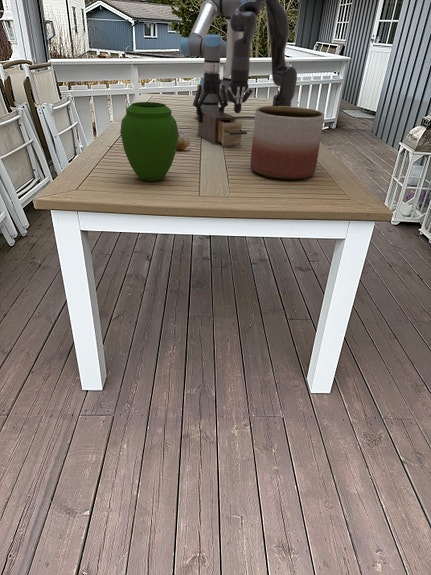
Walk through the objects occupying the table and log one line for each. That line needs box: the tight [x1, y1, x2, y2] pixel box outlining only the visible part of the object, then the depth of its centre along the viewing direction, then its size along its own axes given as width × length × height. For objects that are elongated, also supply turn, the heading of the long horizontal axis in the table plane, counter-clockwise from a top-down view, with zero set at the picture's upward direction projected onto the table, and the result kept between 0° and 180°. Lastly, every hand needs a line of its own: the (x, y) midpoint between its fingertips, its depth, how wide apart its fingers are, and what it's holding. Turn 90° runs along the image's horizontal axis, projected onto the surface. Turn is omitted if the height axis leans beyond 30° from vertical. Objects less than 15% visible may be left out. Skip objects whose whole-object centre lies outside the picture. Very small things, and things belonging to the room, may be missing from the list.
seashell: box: [176, 130, 191, 151], centre depth 180 cm, size 10×6×8 cm, turn 97°
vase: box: [119, 101, 179, 182], centre depth 140 cm, size 20×20×24 cm
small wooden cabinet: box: [197, 110, 236, 145], centre depth 202 cm, size 20×10×12 cm, turn 25°
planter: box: [249, 105, 325, 181], centre depth 155 cm, size 25×25×22 cm
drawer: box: [217, 120, 248, 147], centre depth 193 cm, size 25×9×10 cm, turn 25°
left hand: (210, 121), depth 206 cm, fingers open, 11 cm apart
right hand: (237, 112), depth 180 cm, fingers closed
